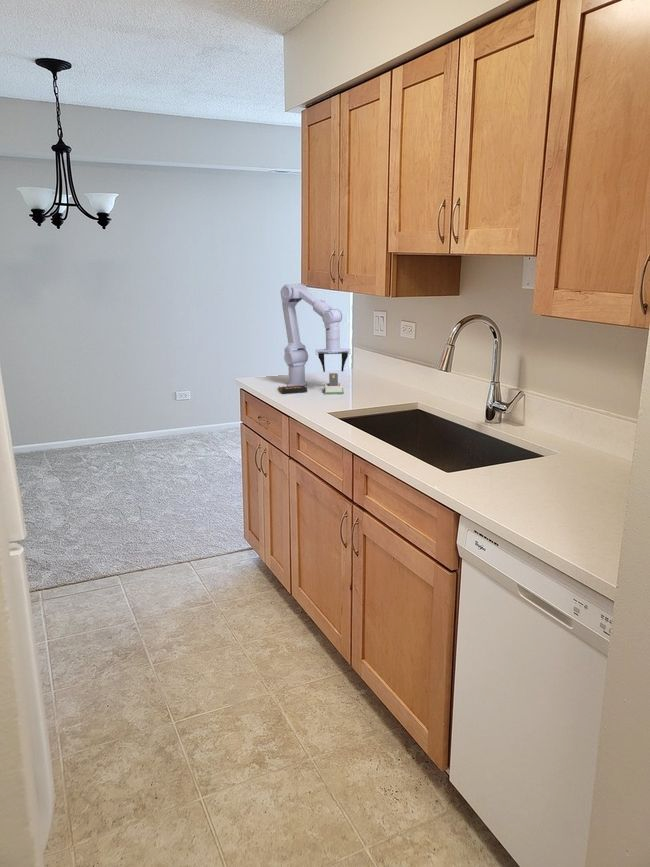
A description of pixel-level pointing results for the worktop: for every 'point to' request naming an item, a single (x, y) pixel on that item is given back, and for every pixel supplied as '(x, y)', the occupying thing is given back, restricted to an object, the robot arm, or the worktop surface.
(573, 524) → the worktop surface
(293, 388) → the ammunition clip
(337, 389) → the board
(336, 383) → the plug
